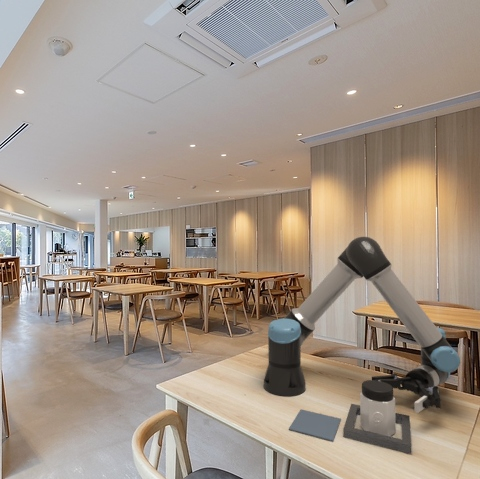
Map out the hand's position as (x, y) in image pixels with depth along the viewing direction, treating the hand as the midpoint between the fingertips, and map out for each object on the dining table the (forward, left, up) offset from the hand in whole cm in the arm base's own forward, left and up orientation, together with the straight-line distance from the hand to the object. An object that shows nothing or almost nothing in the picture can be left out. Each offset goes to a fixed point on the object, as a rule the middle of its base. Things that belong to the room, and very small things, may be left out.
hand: (391, 398), depth 92 cm
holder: (-3, -6, -7) cm, 9 cm away
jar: (-3, -6, -7) cm, 10 cm away
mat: (-19, -11, -7) cm, 23 cm away
